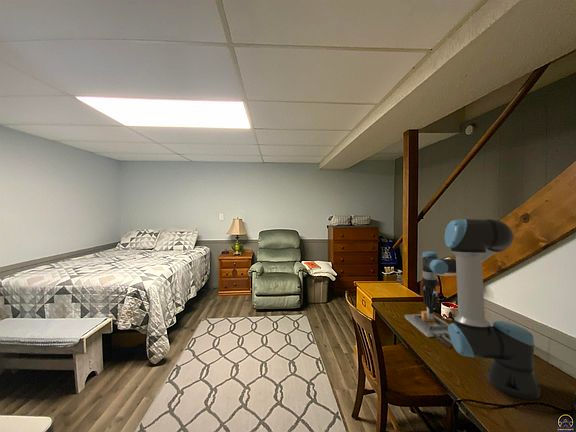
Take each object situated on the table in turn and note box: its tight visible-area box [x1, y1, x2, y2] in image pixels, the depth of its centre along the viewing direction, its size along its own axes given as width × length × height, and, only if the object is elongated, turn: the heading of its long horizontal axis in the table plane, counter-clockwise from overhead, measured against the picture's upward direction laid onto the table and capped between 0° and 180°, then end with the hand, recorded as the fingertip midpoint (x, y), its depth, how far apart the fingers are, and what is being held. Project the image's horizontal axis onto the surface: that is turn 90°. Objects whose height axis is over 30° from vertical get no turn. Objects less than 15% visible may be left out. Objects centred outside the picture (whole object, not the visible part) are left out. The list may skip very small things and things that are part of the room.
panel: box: [404, 313, 450, 338], centre depth 145 cm, size 24×18×4 cm
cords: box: [434, 335, 453, 349], centre depth 128 cm, size 11×8×1 cm
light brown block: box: [420, 310, 435, 322], centre depth 148 cm, size 3×6×5 cm, turn 92°
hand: (429, 318), depth 146 cm, fingers closed
